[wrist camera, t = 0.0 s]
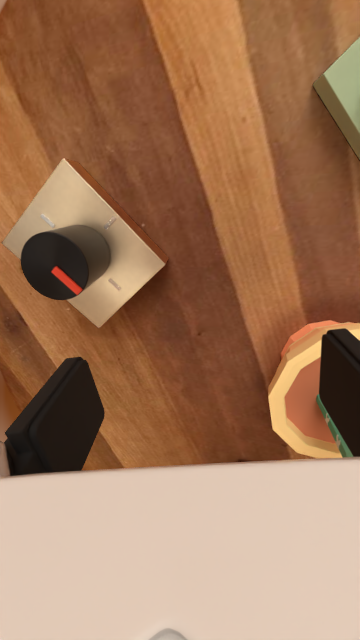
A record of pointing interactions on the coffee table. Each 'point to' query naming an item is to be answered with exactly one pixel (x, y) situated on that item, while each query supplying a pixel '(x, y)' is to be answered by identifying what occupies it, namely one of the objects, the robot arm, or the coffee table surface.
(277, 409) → the potted cactus
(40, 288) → the knob
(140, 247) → the dial panel
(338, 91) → the button box
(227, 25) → the coffee table surface
